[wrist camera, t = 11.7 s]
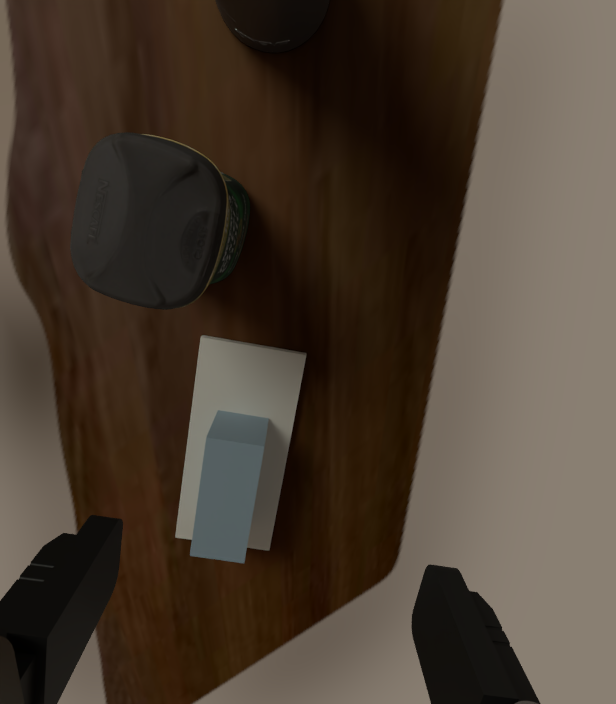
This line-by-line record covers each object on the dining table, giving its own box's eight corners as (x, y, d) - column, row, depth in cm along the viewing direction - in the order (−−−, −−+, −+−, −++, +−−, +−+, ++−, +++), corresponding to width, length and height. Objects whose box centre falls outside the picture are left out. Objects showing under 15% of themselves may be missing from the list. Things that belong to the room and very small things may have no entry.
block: (218, 410, 45) (206, 437, 40) (268, 418, 46) (264, 446, 40) (202, 516, 49) (189, 555, 43) (250, 523, 49) (244, 563, 43)
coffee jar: (234, 290, 43) (188, 337, 25) (149, 264, 42) (41, 294, 25) (262, 184, 41) (234, 154, 23) (173, 155, 40) (72, 100, 22)
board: (202, 335, 44) (195, 343, 41) (306, 352, 45) (306, 362, 42) (177, 532, 50) (168, 553, 47) (269, 545, 51) (267, 567, 47)
